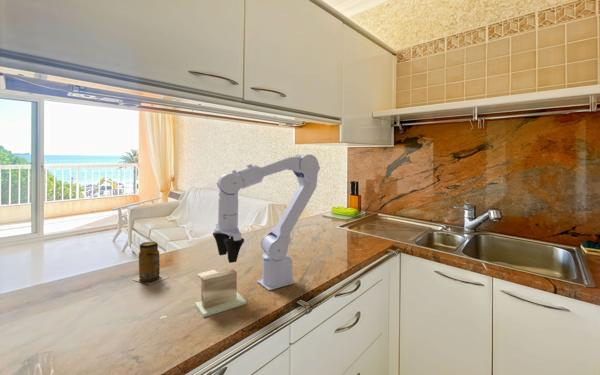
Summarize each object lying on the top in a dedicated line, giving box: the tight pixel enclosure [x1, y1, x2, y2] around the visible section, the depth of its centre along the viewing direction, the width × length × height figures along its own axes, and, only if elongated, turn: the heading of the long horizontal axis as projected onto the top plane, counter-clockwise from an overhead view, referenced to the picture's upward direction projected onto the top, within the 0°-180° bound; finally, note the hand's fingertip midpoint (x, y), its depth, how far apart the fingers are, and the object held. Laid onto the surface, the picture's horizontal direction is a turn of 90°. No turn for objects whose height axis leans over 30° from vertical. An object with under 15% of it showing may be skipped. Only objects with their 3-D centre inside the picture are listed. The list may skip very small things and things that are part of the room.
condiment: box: [132, 241, 169, 286], centre depth 92 cm, size 7×8×12 cm
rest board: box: [194, 292, 248, 318], centre depth 77 cm, size 12×7×1 cm, turn 126°
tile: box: [197, 269, 219, 279], centre depth 95 cm, size 6×1×9 cm
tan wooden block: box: [200, 269, 238, 309], centre depth 76 cm, size 2×9×8 cm, turn 127°
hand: (227, 258), depth 84 cm, fingers open, 7 cm apart
